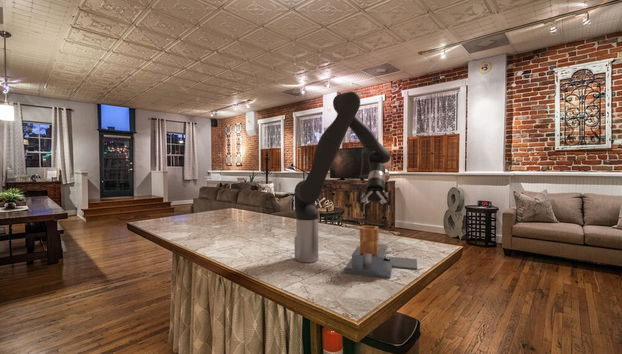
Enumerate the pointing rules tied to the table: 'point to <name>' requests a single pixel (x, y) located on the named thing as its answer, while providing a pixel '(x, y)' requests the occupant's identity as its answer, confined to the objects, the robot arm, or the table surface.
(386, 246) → the mechanical component
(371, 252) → the sleeve
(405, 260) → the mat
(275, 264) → the table surface
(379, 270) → the vise
